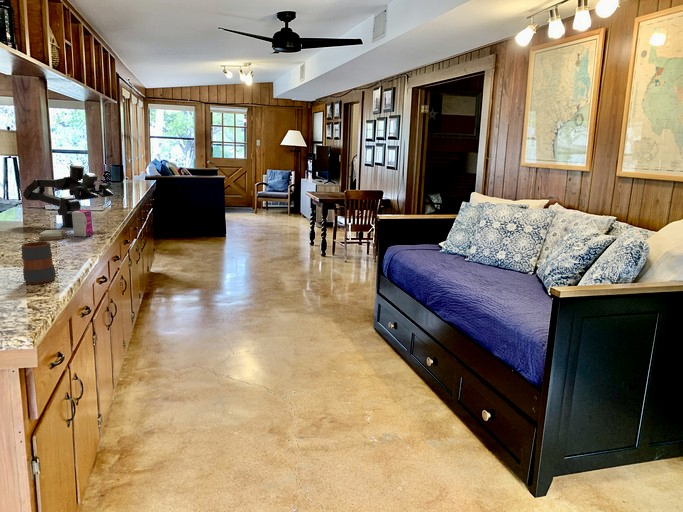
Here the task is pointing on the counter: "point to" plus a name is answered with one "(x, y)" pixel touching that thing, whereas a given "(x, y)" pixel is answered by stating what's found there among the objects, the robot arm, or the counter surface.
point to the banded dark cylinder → (37, 263)
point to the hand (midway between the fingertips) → (105, 195)
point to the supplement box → (82, 223)
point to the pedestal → (52, 234)
